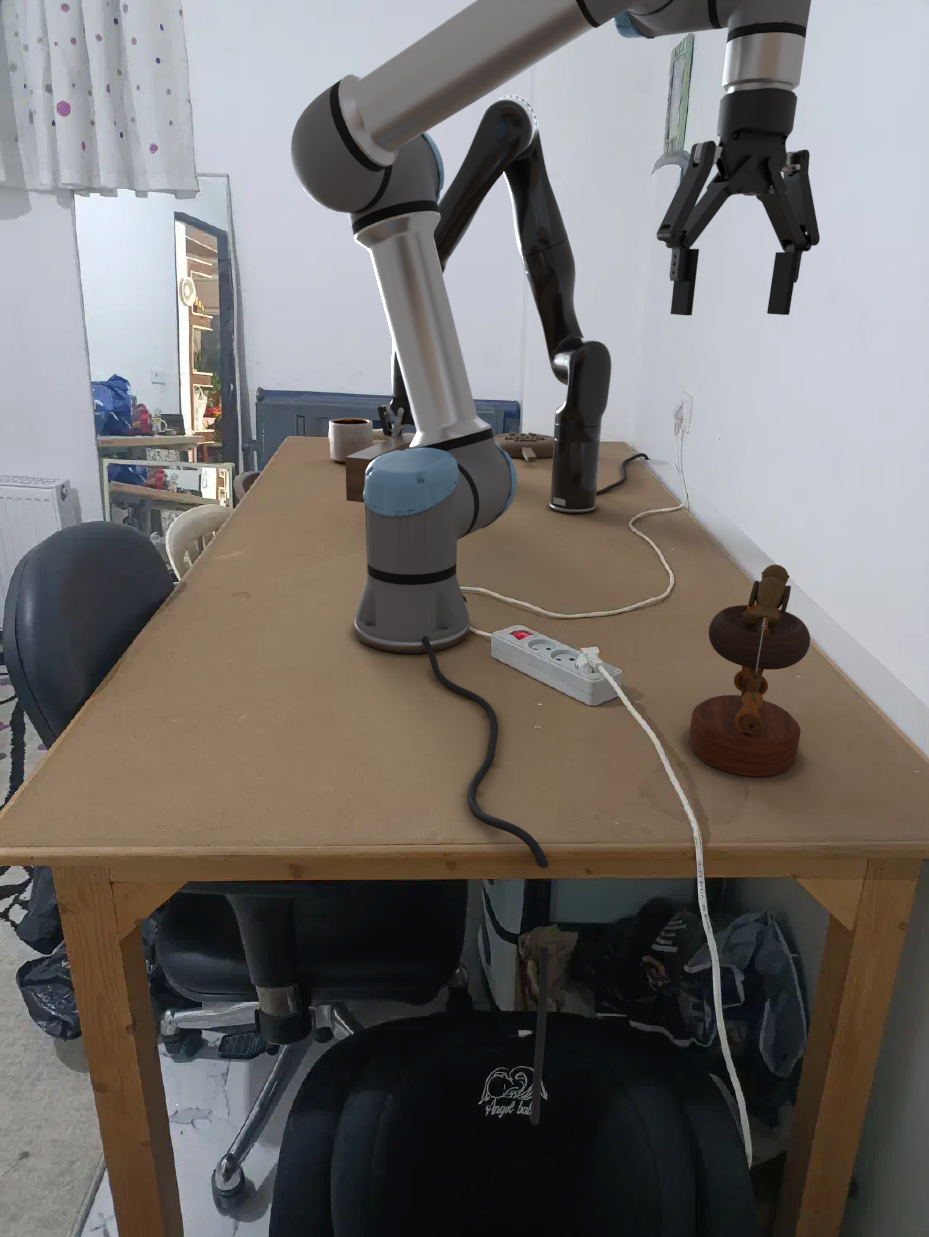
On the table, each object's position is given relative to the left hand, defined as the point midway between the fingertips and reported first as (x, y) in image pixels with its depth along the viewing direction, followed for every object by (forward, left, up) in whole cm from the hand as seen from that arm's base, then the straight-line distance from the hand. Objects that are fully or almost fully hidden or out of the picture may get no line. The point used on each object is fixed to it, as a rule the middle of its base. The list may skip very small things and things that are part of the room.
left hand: (730, 315), depth 94 cm
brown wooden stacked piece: (-24, -2, -41) cm, 47 cm away
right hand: (+68, +47, -31) cm, 89 cm away
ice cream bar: (+120, +25, -41) cm, 129 cm away
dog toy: (+130, +70, -41) cm, 153 cm away
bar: (+58, +50, -35) cm, 84 cm away
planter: (+107, +69, -41) cm, 134 cm away
